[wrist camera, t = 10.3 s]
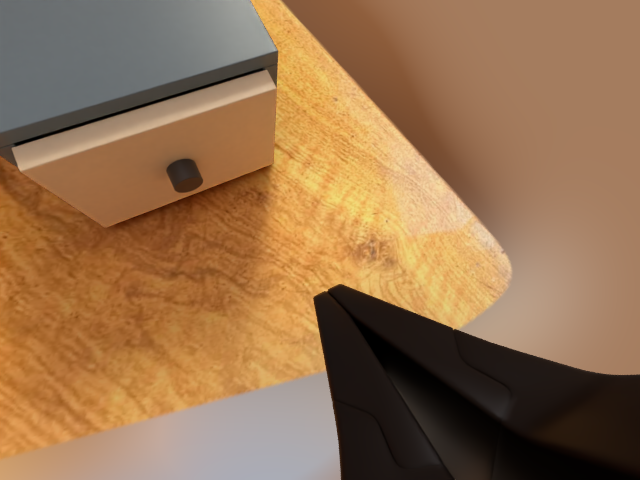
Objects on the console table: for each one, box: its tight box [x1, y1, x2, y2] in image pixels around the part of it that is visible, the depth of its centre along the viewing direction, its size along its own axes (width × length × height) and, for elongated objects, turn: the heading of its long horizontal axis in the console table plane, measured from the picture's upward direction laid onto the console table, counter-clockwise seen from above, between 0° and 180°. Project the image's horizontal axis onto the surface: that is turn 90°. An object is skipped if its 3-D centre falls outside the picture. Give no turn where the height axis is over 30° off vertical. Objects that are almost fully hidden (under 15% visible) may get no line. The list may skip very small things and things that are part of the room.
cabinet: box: [0, 0, 278, 167], centre depth 20 cm, size 15×13×10 cm
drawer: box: [12, 70, 277, 228], centre depth 20 cm, size 15×11×8 cm
